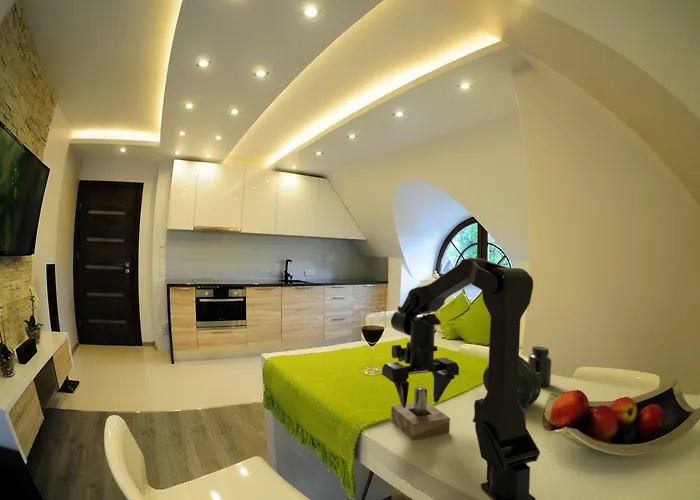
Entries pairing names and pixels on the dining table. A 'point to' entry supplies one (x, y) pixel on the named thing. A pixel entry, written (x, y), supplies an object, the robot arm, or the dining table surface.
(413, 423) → the hole block
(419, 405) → the pin
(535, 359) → the supplement bottle
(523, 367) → the squash
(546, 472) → the dining table surface
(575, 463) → the dining table surface
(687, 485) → the dining table surface
